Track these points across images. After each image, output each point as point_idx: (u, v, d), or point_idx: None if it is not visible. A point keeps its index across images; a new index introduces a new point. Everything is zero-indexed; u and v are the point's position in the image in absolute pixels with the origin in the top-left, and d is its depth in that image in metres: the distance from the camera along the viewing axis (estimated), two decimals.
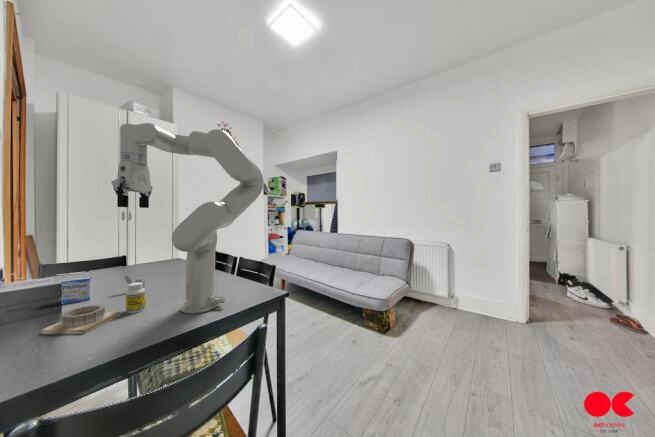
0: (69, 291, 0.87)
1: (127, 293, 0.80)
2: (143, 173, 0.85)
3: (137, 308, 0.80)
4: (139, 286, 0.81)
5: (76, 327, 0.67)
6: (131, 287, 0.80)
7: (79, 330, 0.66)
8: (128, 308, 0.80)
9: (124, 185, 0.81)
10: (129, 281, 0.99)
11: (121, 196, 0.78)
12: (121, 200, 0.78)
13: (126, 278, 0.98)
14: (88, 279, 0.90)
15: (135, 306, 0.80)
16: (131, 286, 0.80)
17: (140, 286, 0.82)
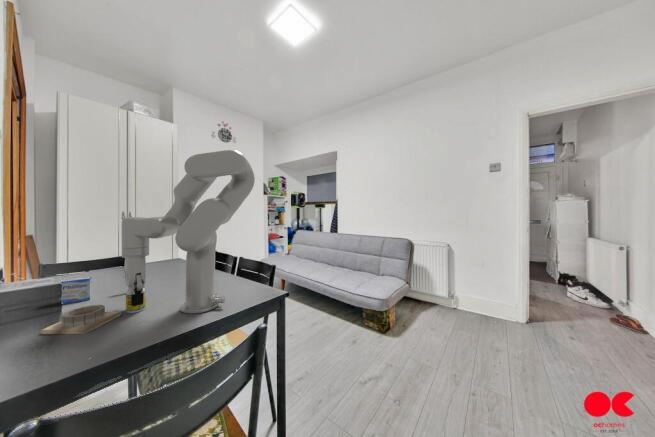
0: (69, 291, 0.87)
1: (127, 293, 0.80)
2: (125, 266, 0.79)
3: (137, 307, 0.80)
4: None
5: (76, 327, 0.67)
6: (131, 287, 0.80)
7: (79, 330, 0.66)
8: (128, 308, 0.80)
9: None
10: None
11: None
12: None
13: None
14: (88, 279, 0.90)
15: (135, 306, 0.80)
16: (131, 286, 0.80)
17: None
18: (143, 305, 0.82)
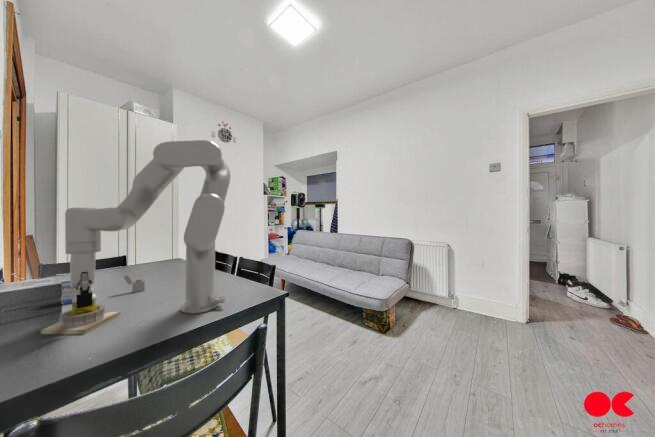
0: (69, 291, 0.87)
1: (73, 300, 0.69)
2: (70, 263, 0.69)
3: None
4: None
5: (76, 327, 0.67)
6: (77, 293, 0.70)
7: (79, 330, 0.66)
8: None
9: None
10: (129, 281, 0.99)
11: None
12: None
13: (126, 278, 0.98)
14: None
15: None
16: None
17: None
18: None
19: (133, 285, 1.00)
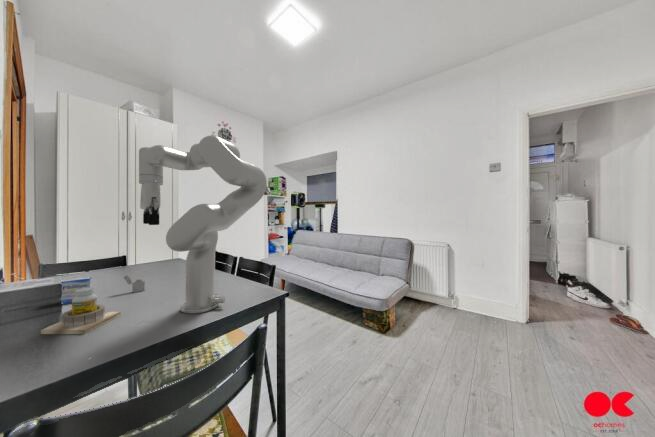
0: (69, 291, 0.87)
1: (73, 300, 0.69)
2: (142, 191, 0.88)
3: None
4: (88, 292, 0.71)
5: (76, 327, 0.67)
6: (77, 293, 0.70)
7: (79, 330, 0.66)
8: None
9: None
10: (129, 281, 0.99)
11: None
12: None
13: (126, 278, 0.98)
14: (88, 279, 0.90)
15: None
16: (78, 292, 0.70)
17: (89, 292, 0.71)
18: None
19: (133, 285, 1.00)
